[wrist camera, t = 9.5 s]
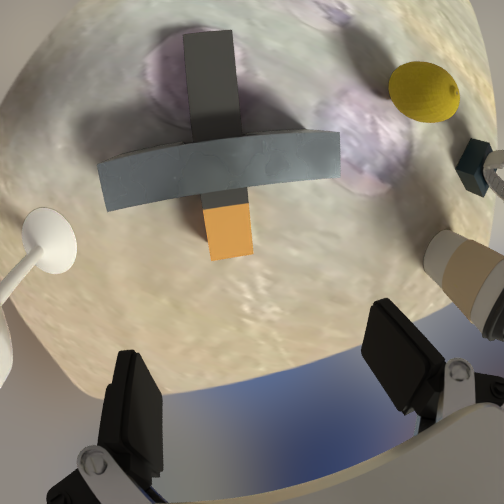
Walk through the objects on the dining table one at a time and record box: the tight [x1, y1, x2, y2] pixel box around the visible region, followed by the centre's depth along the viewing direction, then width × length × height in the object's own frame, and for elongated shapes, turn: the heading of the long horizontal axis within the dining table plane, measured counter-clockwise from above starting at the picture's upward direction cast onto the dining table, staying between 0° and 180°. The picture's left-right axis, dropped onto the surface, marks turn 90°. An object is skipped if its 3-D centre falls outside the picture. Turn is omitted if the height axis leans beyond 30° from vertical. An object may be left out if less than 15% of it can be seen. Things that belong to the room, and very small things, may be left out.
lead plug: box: [183, 30, 253, 261], centre depth 18 cm, size 16×3×3 cm, turn 5°
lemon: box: [389, 61, 460, 123], centre depth 16 cm, size 6×6×8 cm
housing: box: [97, 129, 340, 212], centre depth 17 cm, size 3×15×6 cm, turn 95°
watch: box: [455, 138, 504, 201], centre depth 20 cm, size 6×8×11 cm
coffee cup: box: [423, 230, 504, 342], centre depth 23 cm, size 9×9×15 cm
